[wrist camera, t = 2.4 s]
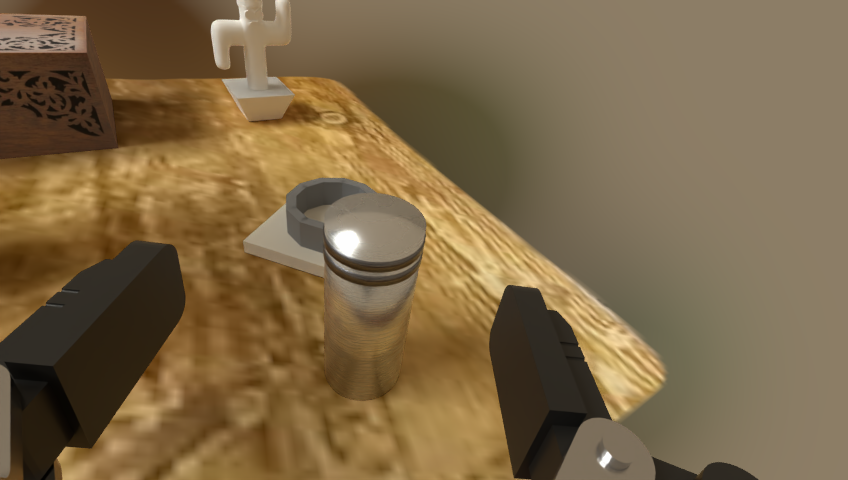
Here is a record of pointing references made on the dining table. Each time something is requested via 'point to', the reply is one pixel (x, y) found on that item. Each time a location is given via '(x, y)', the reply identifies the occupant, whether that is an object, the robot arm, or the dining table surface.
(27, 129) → the tissue box cover
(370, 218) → the piston
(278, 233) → the ring stand
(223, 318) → the dining table surface
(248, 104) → the figurine
